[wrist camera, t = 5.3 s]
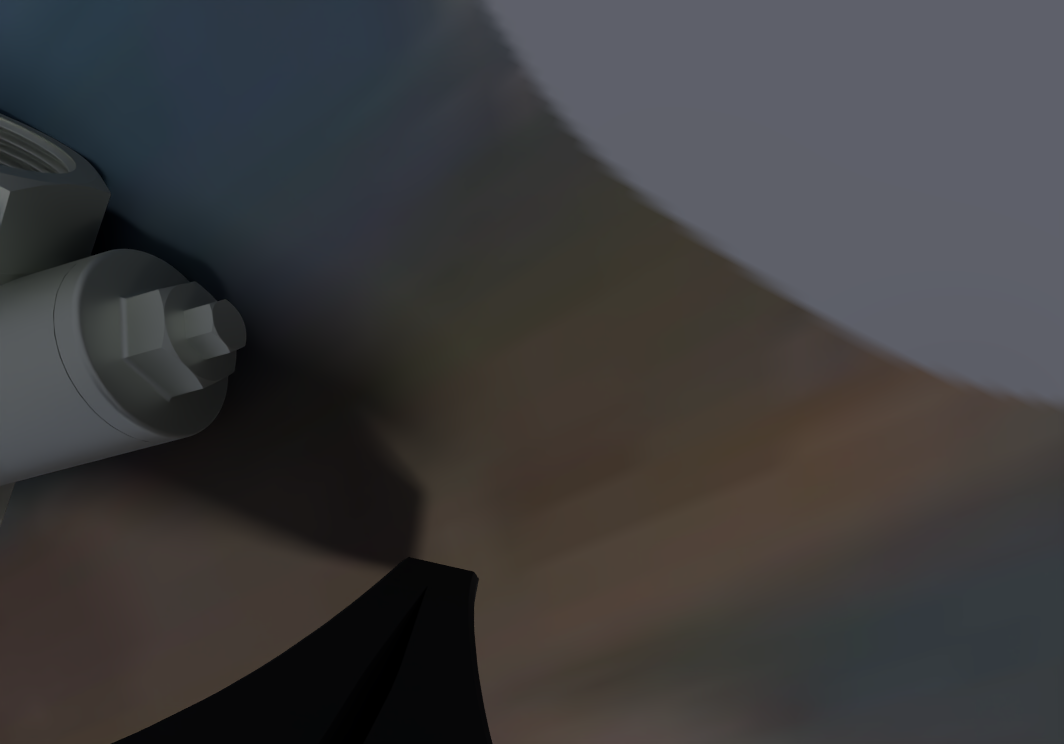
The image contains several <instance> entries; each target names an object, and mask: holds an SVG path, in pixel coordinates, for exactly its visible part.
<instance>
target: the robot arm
mask: <svg viewBox="0 0 1064 744" xmlns="http://www.w3.org/2000/svg"><path fill="white" fill-rule="evenodd" d="M478 580H479V578H478V577H477V575H476V574H475V573H474V572H473V571H468V570H464V569H459V568H455V567H451V566H446V565H442V564H437V563H433V562H428V561H424V560H419V559H415V558H410V557H408V558H407V559H405V560H403V561H402V562H401V563H399V564H398V565H397V566H396V567H395V568H394V569H393V570H391V571H390V572H389V573H388V574H387V575H386V576H384V577H383V578H382V579H381V580H380V581H379V582H377V583H376V584H375V585H374V586H373V587H371V588H370V589H369V590H368V591H367V592H365V593H364V594H363V595H362V596H360V597H359V598H358V599H357V600H355V601H354V602H353V603H351V604H350V605H349V606H348V607H346V608H345V609H344V610H342V611H341V612H340V613H339V614H337V615H336V616H335V617H333V618H332V619H331V620H329V621H328V622H327V623H325V624H324V625H323V626H321V627H320V628H318V629H317V630H316V631H314V632H313V633H311V634H310V635H308V636H307V637H305V638H304V639H303V640H301V641H300V642H298V643H297V644H295V645H294V646H292V647H291V648H289V649H288V650H287V651H285V652H284V653H282V654H281V655H279V656H278V657H276V658H274V659H273V660H271V661H270V662H268V663H266V664H265V665H263V666H262V667H260V668H258V669H257V670H255V671H254V672H252V673H250V674H249V675H247V676H245V677H243V678H242V679H240V680H238V681H236V682H235V683H233V684H231V685H230V686H228V687H226V688H224V689H223V690H221V691H219V692H217V693H215V694H213V695H211V696H210V697H208V698H206V699H204V700H202V701H200V702H198V703H196V704H194V705H192V706H190V707H188V708H186V709H184V710H182V711H180V712H178V713H176V714H174V715H172V716H170V717H168V718H166V719H164V720H162V721H160V722H158V723H156V724H154V725H152V726H150V727H148V728H145V729H143V730H141V731H139V732H137V733H135V734H132V735H130V736H128V737H125V738H123V739H121V740H118V741H116V742H114V743H112V744H492V740H491V736H490V732H489V728H488V723H487V718H486V713H485V709H484V703H483V698H482V692H481V686H480V680H479V673H478V666H477V656H476V646H475V635H474V602H475V597H476V591H477V586H478Z"/></svg>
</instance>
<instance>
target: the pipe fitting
mask: <svg viewBox="0 0 1064 744" xmlns="http://www.w3.org/2000/svg"><path fill="white" fill-rule="evenodd" d="M110 196H111V193H110V191H109V189H108V188H107V186H106V184H105V182H104V181H103V179H102V178H101V176H100V175H99V173H98V172H97V171H96V170H95V169H94V167H93V166H92V165H91V164H90V163H89V162H88V161H87V160H86V159H84V158H83V157H82V156H81V155H79V154H78V153H76V152H75V151H73V150H72V149H70V148H69V147H67V146H66V145H64V144H62V143H60V142H59V141H57V140H55V139H53V138H51V137H50V136H48V135H46V134H44V133H42V132H40V131H38V130H36V129H34V128H32V127H30V126H27V125H25V124H23V123H21V122H19V121H16V120H14V119H12V118H10V117H7V116H5V115H3V114H0V526H1V523H2V520H3V517H4V514H5V511H6V508H7V505H8V502H9V499H10V496H11V493H12V490H13V487H14V484H15V482H17V481H21V480H24V479H28V478H32V477H36V476H40V475H44V474H48V473H51V472H55V471H59V470H63V469H67V468H71V467H75V466H78V465H82V464H86V463H90V462H94V461H98V460H101V459H105V458H109V457H113V456H117V455H121V454H124V453H128V452H132V451H136V450H140V449H144V448H148V447H151V446H155V445H159V444H163V443H167V442H171V441H175V440H179V439H182V438H186V437H190V436H193V435H195V434H197V433H199V432H201V431H203V430H204V429H205V428H207V427H208V426H209V425H210V424H211V423H212V422H213V421H214V419H215V418H216V417H217V415H218V414H219V412H220V410H221V408H222V406H223V403H224V400H225V397H226V392H227V386H228V376H229V375H231V374H232V373H234V372H235V366H236V350H238V349H240V348H242V347H244V346H245V345H246V328H245V324H244V321H243V319H242V317H241V315H240V313H239V312H238V310H237V309H236V308H235V307H234V306H233V305H232V304H231V303H230V302H229V301H228V300H226V299H224V300H220V301H217V300H216V299H215V298H214V297H213V296H212V295H211V294H210V293H209V292H208V291H207V290H205V289H204V288H203V287H202V286H201V285H199V284H198V283H197V282H196V281H194V282H189V281H188V280H187V279H186V278H185V277H184V276H183V275H182V274H181V273H180V272H179V271H178V270H176V269H175V268H174V267H172V266H171V265H170V264H168V263H166V262H165V261H163V260H162V259H160V258H158V257H156V256H153V255H151V254H148V253H146V252H143V251H138V250H134V249H115V250H109V251H106V252H103V253H99V254H96V255H93V256H91V253H92V250H93V247H94V244H95V241H96V238H97V235H98V232H99V229H100V226H101V223H102V220H103V217H104V214H105V211H106V208H107V205H108V202H109V199H110Z"/></svg>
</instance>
